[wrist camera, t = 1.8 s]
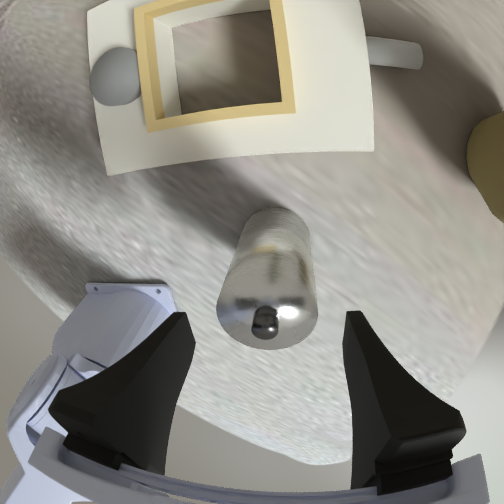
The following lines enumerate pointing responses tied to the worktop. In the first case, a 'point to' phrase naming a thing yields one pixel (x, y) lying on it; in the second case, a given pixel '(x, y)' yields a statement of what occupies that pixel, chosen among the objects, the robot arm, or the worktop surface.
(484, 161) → the squeeze bottle
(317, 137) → the white holder tray
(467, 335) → the worktop surface
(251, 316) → the spout can
